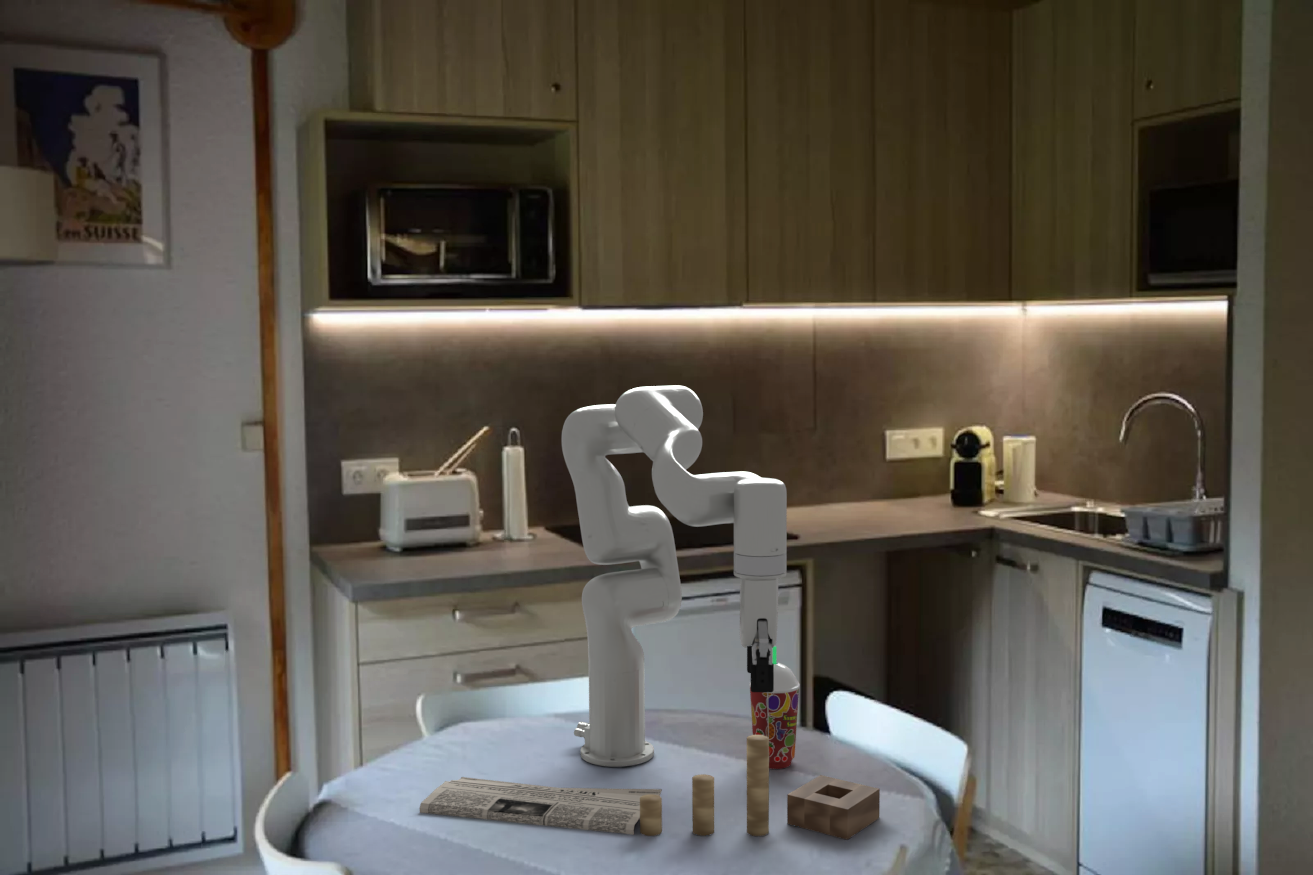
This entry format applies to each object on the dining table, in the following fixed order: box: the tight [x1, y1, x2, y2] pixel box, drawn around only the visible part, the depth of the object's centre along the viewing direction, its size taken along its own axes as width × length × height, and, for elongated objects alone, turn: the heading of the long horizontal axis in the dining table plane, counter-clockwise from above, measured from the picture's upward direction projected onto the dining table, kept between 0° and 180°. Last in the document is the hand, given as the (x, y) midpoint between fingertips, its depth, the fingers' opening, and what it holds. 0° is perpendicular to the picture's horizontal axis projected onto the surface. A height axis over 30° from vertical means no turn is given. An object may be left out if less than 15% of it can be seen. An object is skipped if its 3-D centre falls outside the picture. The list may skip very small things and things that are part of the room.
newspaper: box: [418, 776, 663, 836], centre depth 199 cm, size 35×12×4 cm, turn 75°
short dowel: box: [639, 794, 663, 837], centre depth 190 cm, size 3×3×5 cm
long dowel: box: [746, 734, 770, 837], centre depth 189 cm, size 3×3×14 cm
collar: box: [786, 774, 881, 841], centre depth 193 cm, size 10×10×4 cm
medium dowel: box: [691, 773, 715, 837], centre depth 189 cm, size 3×3×8 cm
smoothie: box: [749, 645, 801, 770], centre depth 217 cm, size 8×8×20 cm
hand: (759, 681), depth 187 cm, fingers open, 9 cm apart
